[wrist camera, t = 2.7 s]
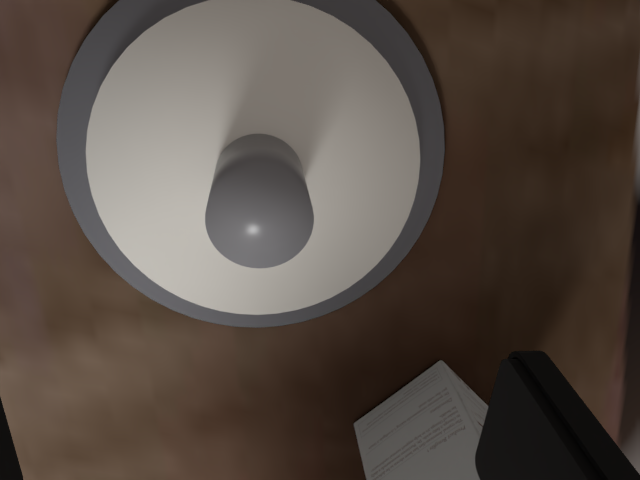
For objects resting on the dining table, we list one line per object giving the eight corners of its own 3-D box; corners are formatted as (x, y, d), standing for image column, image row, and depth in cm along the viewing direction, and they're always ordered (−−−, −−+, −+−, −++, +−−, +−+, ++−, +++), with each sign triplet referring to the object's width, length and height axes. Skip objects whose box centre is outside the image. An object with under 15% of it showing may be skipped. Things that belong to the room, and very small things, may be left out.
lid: (476, 119, 25) (538, 156, 19) (306, 344, 29) (317, 424, 24) (189, -89, 20) (164, -118, 14) (40, 221, 24) (-21, 286, 19)
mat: (515, 107, 25) (520, 109, 25) (313, 367, 31) (314, 373, 30) (172, -154, 19) (171, -157, 19) (0, 226, 25) (-4, 231, 24)
